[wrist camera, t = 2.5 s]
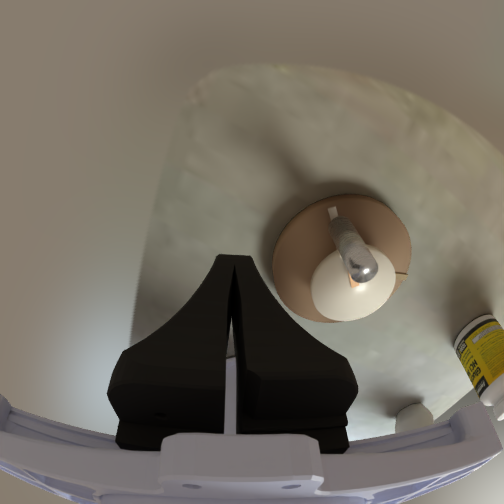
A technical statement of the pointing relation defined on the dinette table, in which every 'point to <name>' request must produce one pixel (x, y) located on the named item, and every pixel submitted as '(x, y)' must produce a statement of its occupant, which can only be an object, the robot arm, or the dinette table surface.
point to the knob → (351, 276)
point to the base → (333, 246)
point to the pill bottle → (484, 360)
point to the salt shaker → (413, 418)
